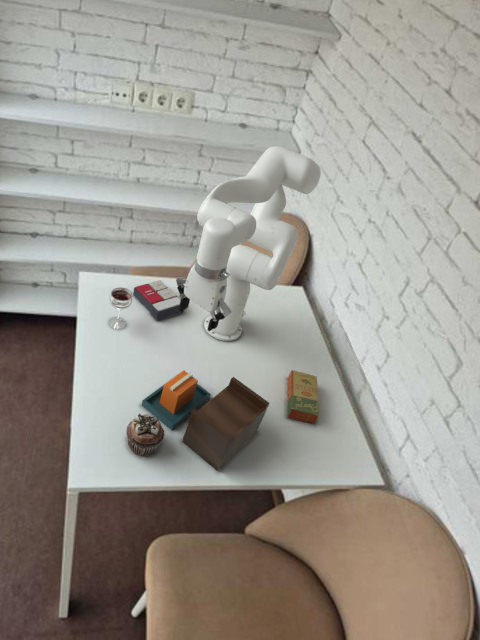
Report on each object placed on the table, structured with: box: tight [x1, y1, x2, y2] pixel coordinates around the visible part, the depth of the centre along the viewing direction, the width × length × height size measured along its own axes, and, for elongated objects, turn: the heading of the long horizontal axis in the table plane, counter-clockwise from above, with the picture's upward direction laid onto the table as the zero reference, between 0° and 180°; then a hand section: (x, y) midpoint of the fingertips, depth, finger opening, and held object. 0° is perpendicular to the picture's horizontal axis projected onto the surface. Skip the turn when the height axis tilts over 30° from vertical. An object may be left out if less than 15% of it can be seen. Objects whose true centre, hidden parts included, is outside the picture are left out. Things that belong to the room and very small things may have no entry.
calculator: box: [132, 279, 185, 321], centre depth 180 cm, size 11×4×15 cm
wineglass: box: [109, 286, 134, 330], centre depth 166 cm, size 7×7×12 cm
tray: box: [141, 374, 212, 431], centre depth 149 cm, size 17×11×2 cm
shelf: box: [181, 376, 270, 472], centre depth 139 cm, size 18×12×12 cm, turn 140°
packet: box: [160, 369, 199, 414], centre depth 147 cm, size 8×5×8 cm, turn 140°
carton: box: [286, 369, 320, 425], centre depth 158 cm, size 8×16×4 cm, turn 171°
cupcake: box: [125, 413, 165, 457], centre depth 134 cm, size 10×10×10 cm
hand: (197, 318), depth 141 cm, fingers open, 9 cm apart
